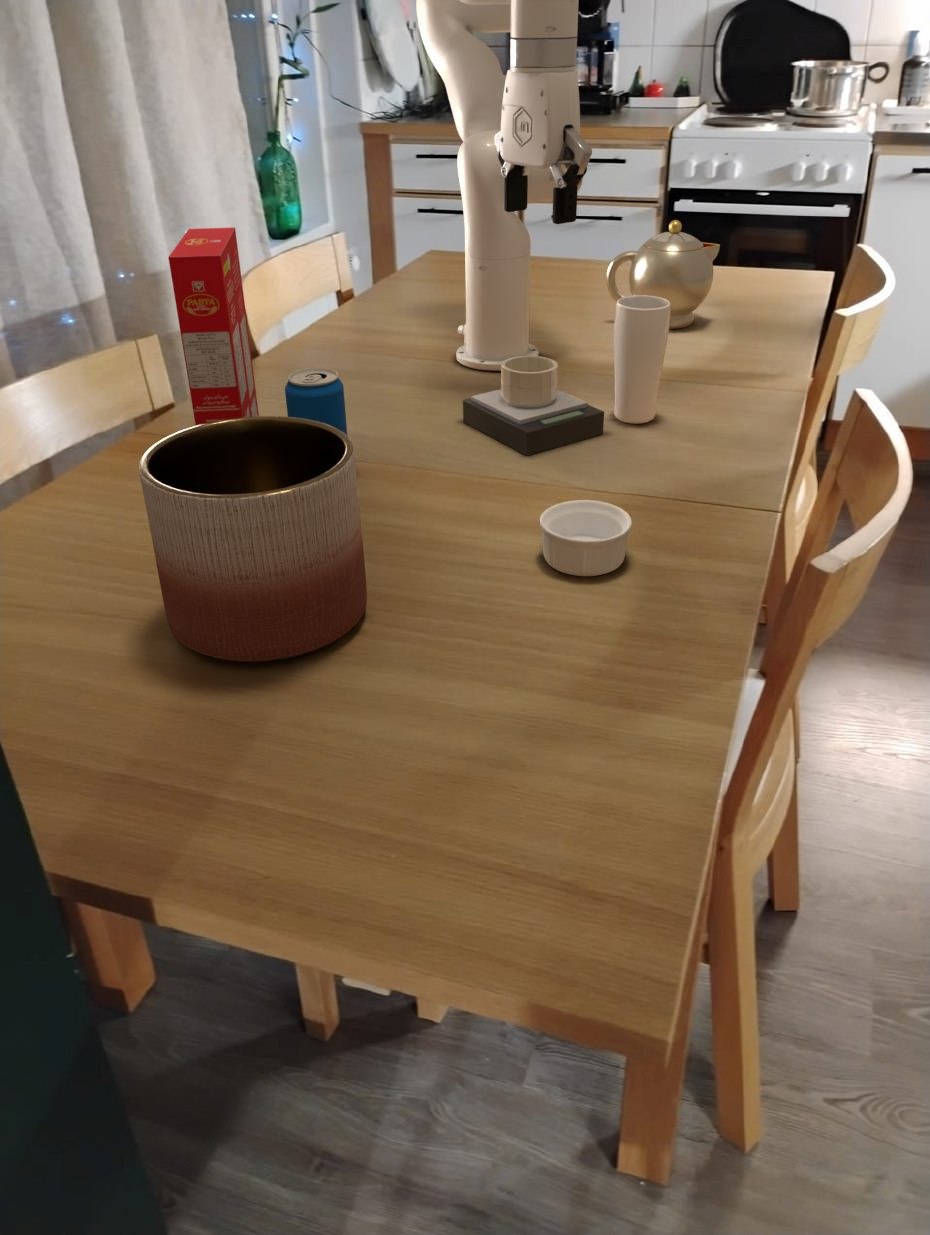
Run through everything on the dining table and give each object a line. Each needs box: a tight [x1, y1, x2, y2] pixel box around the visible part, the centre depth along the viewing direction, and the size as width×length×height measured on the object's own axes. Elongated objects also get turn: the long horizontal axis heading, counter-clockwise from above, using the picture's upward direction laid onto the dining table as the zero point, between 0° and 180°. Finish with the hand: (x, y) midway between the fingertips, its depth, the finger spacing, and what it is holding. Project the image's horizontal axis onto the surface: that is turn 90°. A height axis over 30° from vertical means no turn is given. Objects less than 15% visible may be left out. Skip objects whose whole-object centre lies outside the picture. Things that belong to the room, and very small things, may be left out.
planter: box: [138, 415, 368, 663], centre depth 87 cm, size 18×18×16 cm
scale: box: [462, 388, 605, 457], centre depth 128 cm, size 14×12×4 cm
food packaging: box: [167, 227, 260, 426], centre depth 116 cm, size 15×5×25 cm, turn 5°
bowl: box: [500, 355, 559, 408], centre depth 127 cm, size 7×7×5 cm
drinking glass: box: [613, 295, 671, 425], centre depth 128 cm, size 7×7×15 cm
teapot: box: [605, 219, 721, 330], centre depth 165 cm, size 18×14×16 cm
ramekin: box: [539, 499, 633, 577], centre depth 98 cm, size 9×9×4 cm
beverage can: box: [284, 367, 348, 436], centre depth 114 cm, size 6×6×12 cm
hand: (539, 216), depth 123 cm, fingers open, 9 cm apart
